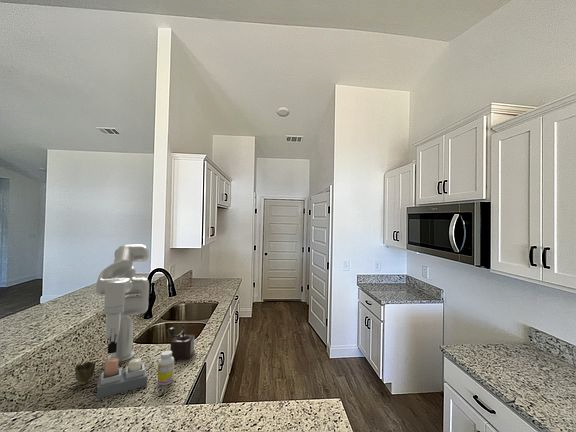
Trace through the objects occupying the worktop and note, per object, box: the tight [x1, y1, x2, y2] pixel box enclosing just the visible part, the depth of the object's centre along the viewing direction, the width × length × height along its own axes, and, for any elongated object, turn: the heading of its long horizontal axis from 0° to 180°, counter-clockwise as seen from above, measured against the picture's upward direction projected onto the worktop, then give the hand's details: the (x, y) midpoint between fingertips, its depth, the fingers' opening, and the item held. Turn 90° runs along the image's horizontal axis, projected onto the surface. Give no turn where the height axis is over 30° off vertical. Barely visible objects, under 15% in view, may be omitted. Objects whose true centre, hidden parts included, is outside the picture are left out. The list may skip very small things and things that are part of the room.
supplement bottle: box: [157, 350, 175, 386], centre depth 122 cm, size 7×7×13 cm
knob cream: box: [128, 358, 142, 372], centre depth 121 cm, size 5×5×5 cm
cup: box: [74, 361, 96, 386], centre depth 119 cm, size 8×7×8 cm
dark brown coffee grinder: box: [167, 324, 195, 361], centre depth 145 cm, size 16×11×18 cm
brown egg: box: [104, 358, 119, 375], centre depth 117 cm, size 5×5×5 cm
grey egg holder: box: [96, 362, 148, 399], centre depth 119 cm, size 12×18×6 cm, turn 122°
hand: (112, 352), depth 116 cm, fingers closed
